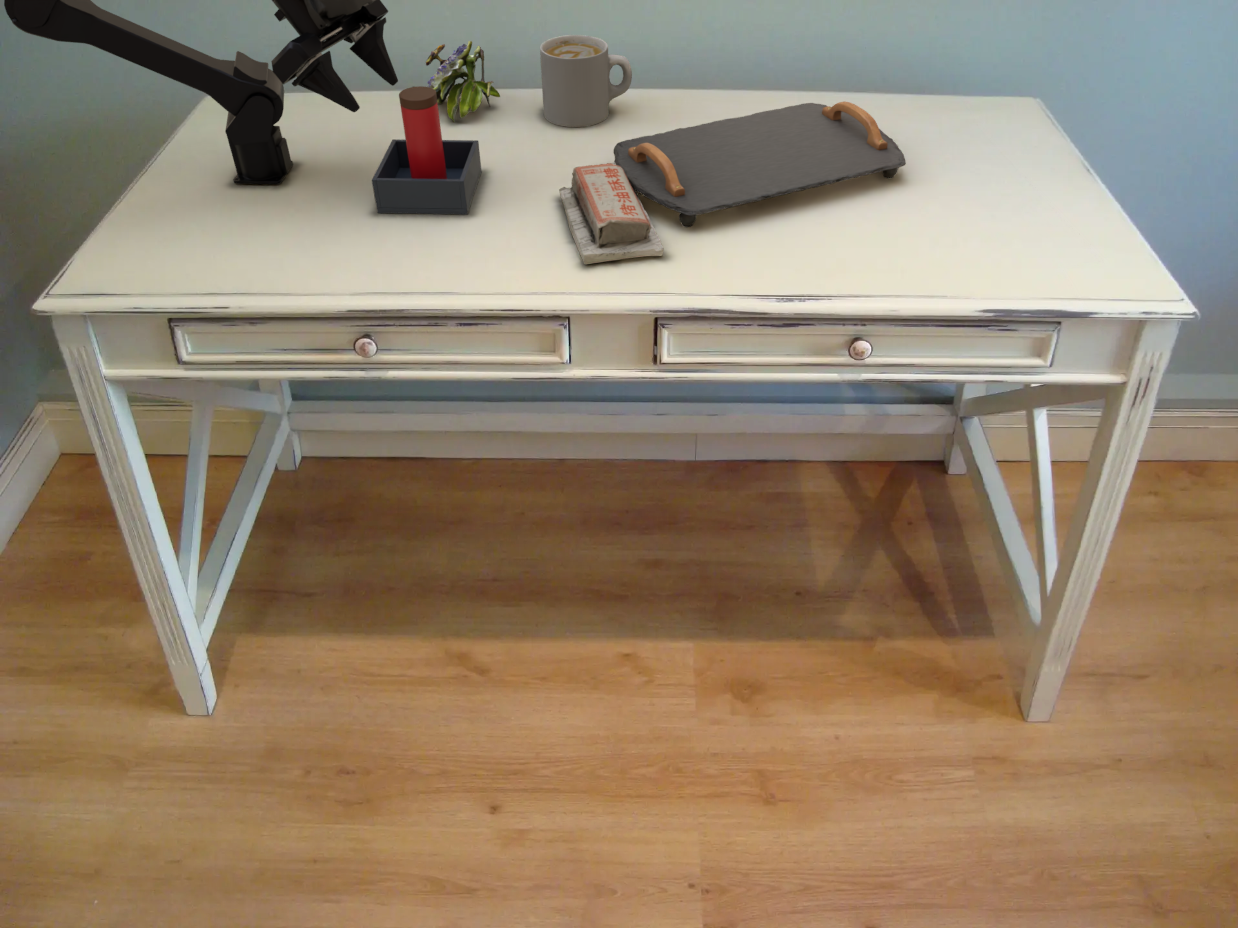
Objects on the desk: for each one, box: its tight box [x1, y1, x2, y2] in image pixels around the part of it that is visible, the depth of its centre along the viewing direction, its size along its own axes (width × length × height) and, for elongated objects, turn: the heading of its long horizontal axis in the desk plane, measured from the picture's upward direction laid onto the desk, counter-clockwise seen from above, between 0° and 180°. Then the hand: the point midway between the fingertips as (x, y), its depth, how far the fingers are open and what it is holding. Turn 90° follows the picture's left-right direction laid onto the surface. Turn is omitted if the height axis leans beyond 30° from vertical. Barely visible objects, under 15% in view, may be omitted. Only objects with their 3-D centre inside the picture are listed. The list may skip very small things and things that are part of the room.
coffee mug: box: [539, 34, 633, 128], centre depth 152 cm, size 13×10×10 cm
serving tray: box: [613, 101, 907, 228], centre depth 138 cm, size 39×23×6 cm, turn 115°
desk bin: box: [371, 138, 482, 215], centre depth 135 cm, size 12×12×5 cm
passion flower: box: [425, 40, 501, 123], centre depth 155 cm, size 11×11×12 cm
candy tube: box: [398, 85, 447, 179], centre depth 131 cm, size 5×5×12 cm
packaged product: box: [558, 162, 665, 265], centre depth 127 cm, size 18×5×10 cm
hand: (376, 96), depth 131 cm, fingers open, 9 cm apart
